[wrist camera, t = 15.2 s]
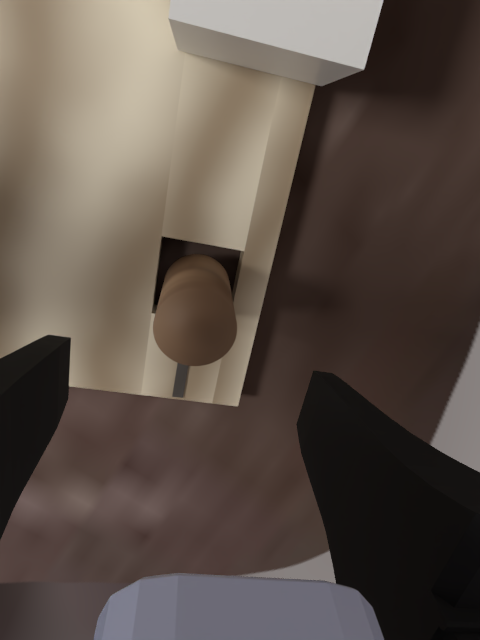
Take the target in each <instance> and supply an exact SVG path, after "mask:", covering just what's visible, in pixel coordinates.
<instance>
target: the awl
mask: <svg viewBox="0 0 480 640" xmlns="http://www.w3.org/2000/svg"><path fill="white" fill-rule="evenodd" d="M153 334H154V339H155V341H156V343H157V345H158V347H159V348H160V350H161V351H162V352H163V353H164V354H165V355H166V356H167V357H168V358H170V359H171V360H173V361H175V362H177V363H180V364H183V365H188V366H203V365H207V364H211V363H213V362H215V361H217V360H219V359H221V358H222V357H223V356H224V355H226V354H227V353H228V351H229V350H230V349H231V347H232V346H233V344H234V342H235V339H236V335H237V321H236V316H235V310H234V305H233V299H232V293H231V288H230V282H229V278H228V275H227V272H226V270H225V269H224V267H223V266H222V265H221V264H220V263H219V262H218V261H216V260H215V259H213V258H211V257H209V256H206V255H202V254H191V255H187V256H184V257H181V258H180V259H178V260H177V261H175V262H174V263H173V264H172V265H171V266H170V268H169V269H168V271H167V273H166V276H165V279H164V283H163V287H162V291H161V294H160V298H159V302H158V306H157V310H156V314H155V317H154V322H153Z"/></svg>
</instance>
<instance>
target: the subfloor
mask: <svg viewBox="0 0 480 640" xmlns="http://www.w3.org/2000/svg"><path fill="white" fill-rule="evenodd" d="M169 8H170V0H0V358H2V357H4V356H6V355H8V354H10V353H12V352H14V351H16V350H18V349H20V348H22V347H24V346H26V345H28V344H30V343H32V342H34V341H36V340H38V339H40V338H42V337H44V336H46V335H55V336H63V337H70V338H71V349H70V370H69V386H71V387H79V388H88V389H96V390H105V391H113V392H121V393H130V394H138V395H146V396H155V397H163V398H172V399H180V400H188V401H197V402H205V403H213V404H222V405H230V406H238V404H239V400H240V396H241V391H242V387H243V383H244V379H245V375H246V371H247V367H248V362H249V358H250V354H251V350H252V346H253V342H254V338H255V333H256V329H257V325H258V321H259V317H260V313H261V309H262V304H263V300H264V296H265V292H266V288H267V284H268V280H269V276H270V271H271V267H272V263H273V259H274V255H275V251H276V247H277V242H278V238H279V234H280V230H281V226H282V222H283V218H284V213H285V209H286V205H287V201H288V197H289V193H290V189H291V184H292V180H293V176H294V172H295V168H296V164H297V160H298V155H299V151H300V147H301V143H302V139H303V135H304V131H305V127H306V122H307V118H308V114H309V110H310V106H311V102H312V98H313V93H314V89H315V85H314V84H310V83H306V82H302V81H298V80H294V79H290V78H286V77H282V76H278V75H274V74H270V73H266V72H262V71H258V70H254V69H250V68H246V67H242V66H239V65H235V64H231V63H227V62H223V61H219V60H215V59H211V58H207V57H203V56H199V55H195V54H191V53H187V52H183V51H179V50H178V49H177V46H176V42H175V39H174V36H173V32H172V29H171V26H170V22H169V19H168V17H169ZM163 237H168V238H174V239H179V240H185V241H191V242H196V243H202V244H207V245H213V246H218V247H224V248H229V249H235V250H241V253H240V258H239V263H238V268H237V272H236V277H235V282H234V287H233V292H232V299H233V305H234V310H235V316H236V321H237V335H236V339H235V342H234V344H233V346H232V347H231V349H230V350H229V351H228V353H227V354H226V355H224V356H223V357H222V358H221V359H219V360H217V361H215V362H213V363H211V364H207V365H203V366H188V365H183V364H180V363H177V362H175V361H173V360H171V359H170V358H168V357H167V356H166V355H165V354H164V353H163V352H162V351H161V350H160V348H159V347H158V345H157V343H156V341H155V339H154V334H153V322H154V317H155V314H156V310H157V306H158V305H155V304H154V301H155V293H156V286H157V278H158V270H159V263H160V255H161V247H162V240H163Z"/></svg>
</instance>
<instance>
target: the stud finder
mask: <svg viewBox="0 0 480 640" xmlns="http://www.w3.org/2000/svg"><path fill="white" fill-rule="evenodd" d="M382 4H383V0H170V8H169V17H168V19H169V22H170V26H171V29H172V32H173V36H174V39H175V42H176V46H177V49H178V50H179V51H183V52H187V53H191V54H195V55H199V56H203V57H207V58H211V59H215V60H219V61H223V62H227V63H231V64H235V65H239V66H242V67H246V68H250V69H254V70H258V71H262V72H266V73H270V74H274V75H278V76H282V77H286V78H290V79H294V80H298V81H302V82H306V83H310V84H314V85H318V86H324V85H326V84H329V83H332V82H334V81H337V80H339V79H342V78H344V77H347V76H349V75H352V74H355V73H357V72H360V71H362V70H364V68H365V65H366V61H367V58H368V54H369V51H370V47H371V43H372V40H373V36H374V33H375V29H376V25H377V22H378V18H379V15H380V11H381V8H382Z"/></svg>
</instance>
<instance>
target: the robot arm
mask: <svg viewBox="0 0 480 640" xmlns="http://www.w3.org/2000/svg"><path fill="white" fill-rule="evenodd" d="M70 349H71V338H70V337H63V336H55V335H46V336H44V337H42V338H40V339H38V340H36V341H34V342H32V343H30V344H28V345H26V346H24V347H22V348H20V349H18V350H16V351H14V352H12V353H10V354H8V355H6V356H4V357H2V358H0V539H1V537H2V535H3V532H4V530H5V528H6V525H7V523H8V520H9V518H10V516H11V513H12V511H13V509H14V507H15V505H16V503H17V501H18V499H19V497H20V495H21V493H22V491H23V489H24V487H25V486H26V484H27V482H28V480H29V478H30V476H31V475H32V473H33V471H34V469H35V467H36V466H37V464H38V462H39V460H40V458H41V456H42V455H43V453H44V451H45V449H46V447H47V445H48V444H49V442H50V440H51V438H52V436H53V434H54V432H55V431H56V429H57V427H58V424H59V421H60V419H61V416H62V414H63V411H64V408H65V405H66V403H67V400H68V392H69V370H70ZM297 430H298V437H299V443H300V448H301V453H302V457H303V460H304V463H305V466H306V470H307V473H308V476H309V479H310V482H311V485H312V488H313V491H314V495H315V498H316V501H317V504H318V507H319V510H320V513H321V516H322V520H323V523H324V527H325V531H326V534H327V539H328V544H329V549H330V553H331V558H332V563H333V568H334V574H335V579H336V584H335V583H331V582H327V581H319V580H317V581H316V580H300V579H280V578H260V577H242V576H223V575H204V574H185V573H174V574H166V575H158V576H149V577H143V578H142V579H140V580H138V581H136V582H134V583H132V584H130V585H129V586H127V587H125V588H123V589H121V590H119V591H118V592H116V593H114V594H113V595H111V596H110V598H109V600H108V601H107V603H106V605H105V607H104V608H103V610H102V612H101V614H100V616H99V617H98V621H97V626H96V630H95V635H94V640H480V472H478V471H476V470H474V469H472V468H470V467H468V466H466V465H464V464H462V463H460V462H458V461H456V460H455V459H453V458H451V457H449V456H447V455H445V454H444V453H442V452H440V451H439V450H437V449H435V448H434V447H432V446H431V445H429V444H427V443H426V442H424V441H423V440H421V439H419V438H418V437H416V436H415V435H413V434H412V433H410V432H409V431H407V430H406V429H405V428H403V427H402V426H400V425H399V424H398V423H396V422H395V421H394V420H392V419H391V418H389V417H388V416H387V415H386V414H384V413H383V412H382V411H380V410H379V409H378V408H377V407H375V406H374V405H373V404H371V403H370V402H369V401H368V400H367V399H365V398H364V397H363V396H362V395H360V394H359V393H358V392H357V391H355V390H354V389H353V388H352V387H350V386H349V385H348V384H347V383H345V382H344V381H343V380H341V379H340V378H339V377H337V376H336V375H334V374H332V373H326V372H319V371H313V374H312V377H311V380H310V383H309V387H308V390H307V393H306V396H305V399H304V402H303V406H302V409H301V412H300V415H299V418H298V421H297Z"/></svg>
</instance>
